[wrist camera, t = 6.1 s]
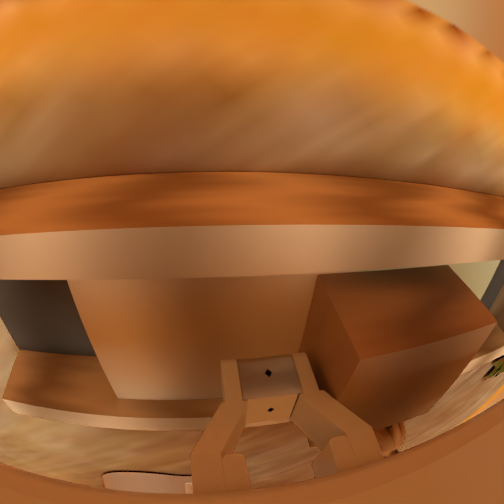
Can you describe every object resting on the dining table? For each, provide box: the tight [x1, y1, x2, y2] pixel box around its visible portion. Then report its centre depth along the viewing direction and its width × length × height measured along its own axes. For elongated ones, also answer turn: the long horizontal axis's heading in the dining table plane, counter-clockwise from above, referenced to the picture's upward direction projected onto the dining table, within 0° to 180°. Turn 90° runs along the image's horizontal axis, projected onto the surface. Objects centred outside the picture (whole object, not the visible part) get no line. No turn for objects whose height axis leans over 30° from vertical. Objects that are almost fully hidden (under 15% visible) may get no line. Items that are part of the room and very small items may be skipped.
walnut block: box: [298, 265, 498, 447], centre depth 10 cm, size 6×6×4 cm
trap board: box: [0, 172, 504, 431], centre depth 13 cm, size 34×11×4 cm, turn 86°
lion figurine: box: [374, 421, 405, 458], centre depth 21 cm, size 12×4×7 cm, turn 19°
